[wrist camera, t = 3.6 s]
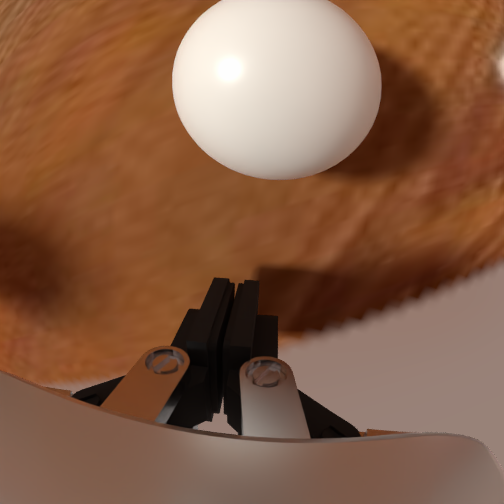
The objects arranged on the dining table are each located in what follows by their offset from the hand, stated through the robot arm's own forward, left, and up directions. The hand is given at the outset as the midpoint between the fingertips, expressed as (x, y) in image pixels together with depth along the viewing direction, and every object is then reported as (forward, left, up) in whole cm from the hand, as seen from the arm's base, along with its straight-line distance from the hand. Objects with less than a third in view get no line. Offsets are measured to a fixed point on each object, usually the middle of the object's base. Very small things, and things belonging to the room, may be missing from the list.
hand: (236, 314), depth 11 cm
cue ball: (-7, -3, +1) cm, 8 cm away
